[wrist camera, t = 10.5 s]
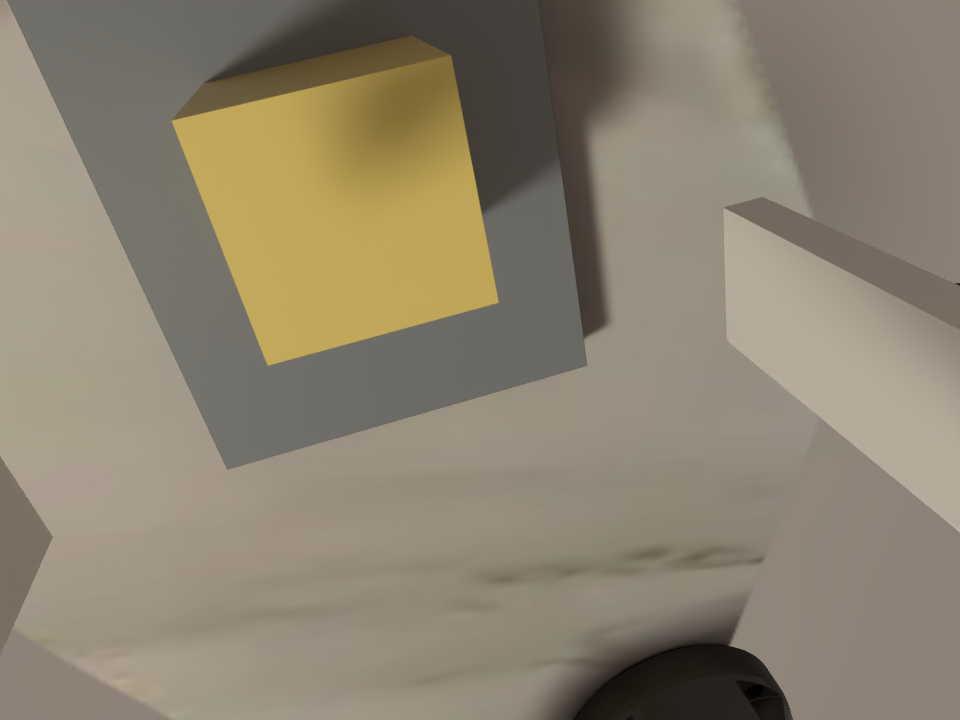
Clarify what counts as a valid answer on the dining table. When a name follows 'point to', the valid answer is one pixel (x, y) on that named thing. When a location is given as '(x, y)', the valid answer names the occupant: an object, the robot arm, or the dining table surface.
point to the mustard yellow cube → (341, 194)
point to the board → (197, 252)
